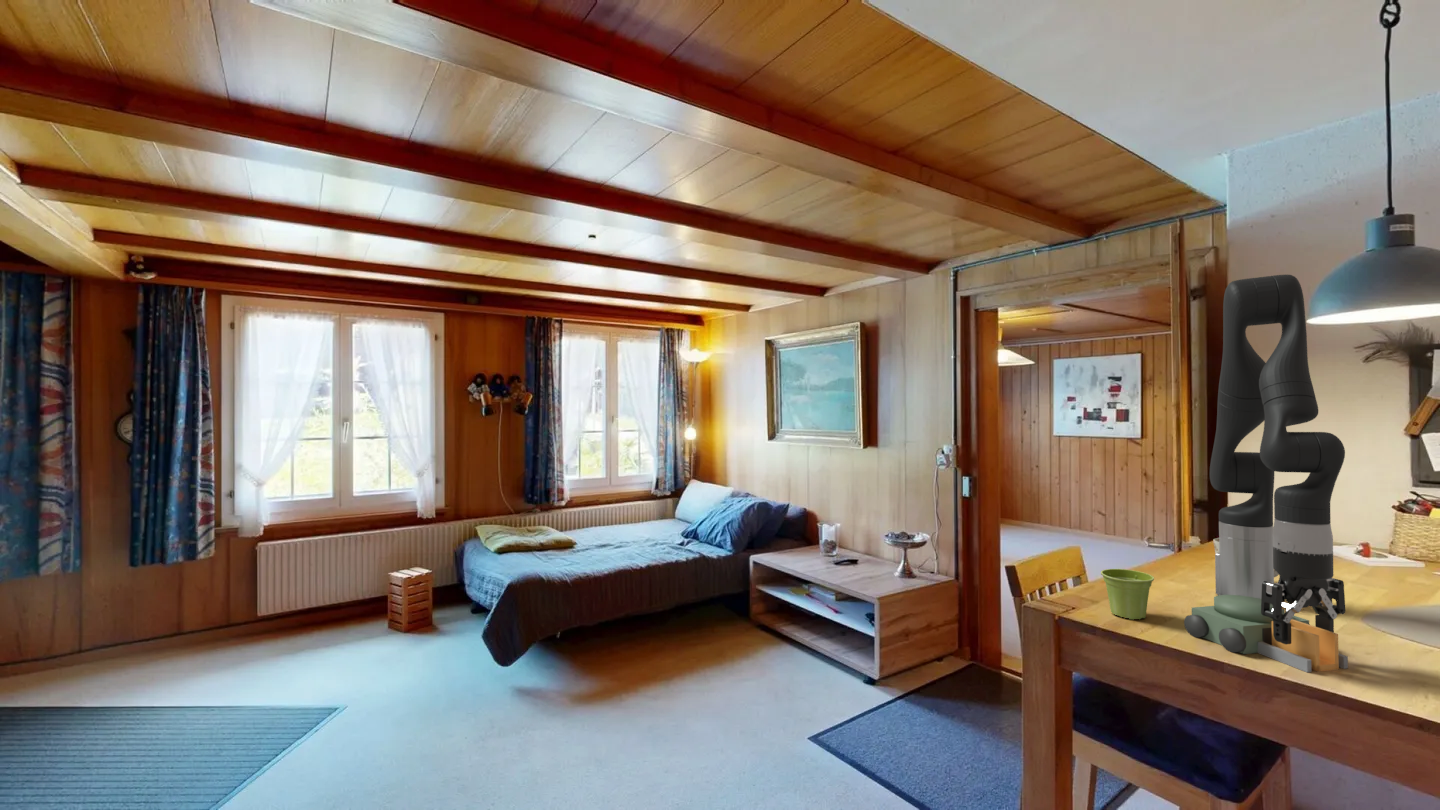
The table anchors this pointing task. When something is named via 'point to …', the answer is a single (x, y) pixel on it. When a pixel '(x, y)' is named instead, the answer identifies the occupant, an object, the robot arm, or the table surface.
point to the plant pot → (1127, 592)
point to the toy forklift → (1244, 629)
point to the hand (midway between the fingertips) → (1303, 640)
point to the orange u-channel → (1312, 645)
